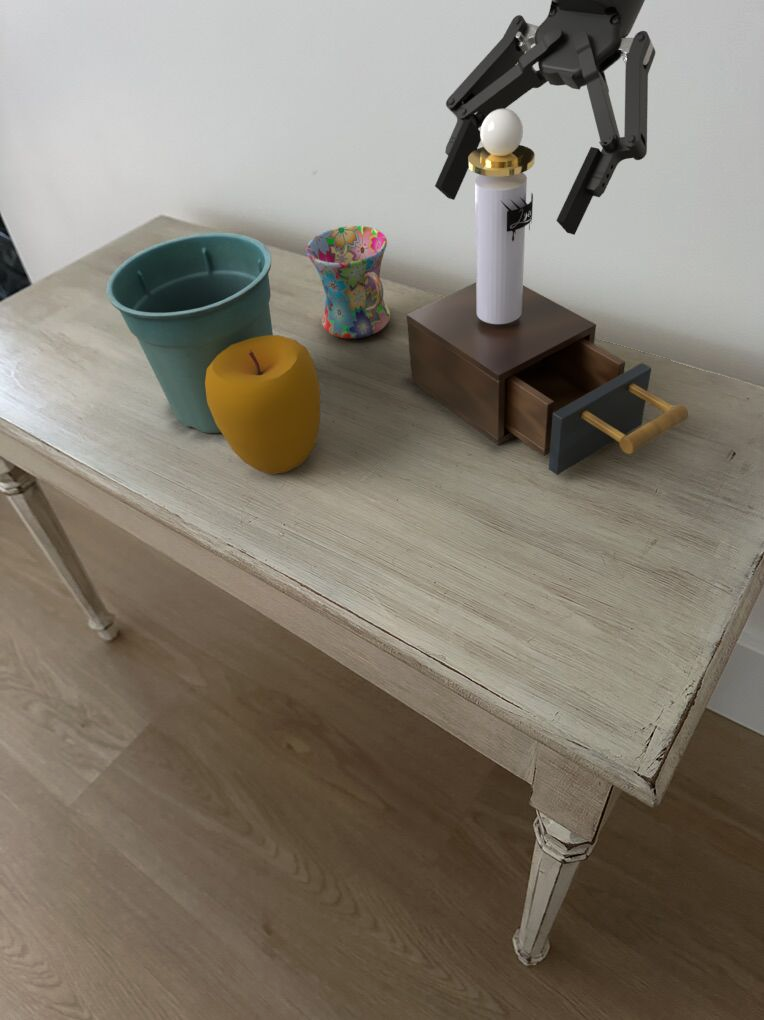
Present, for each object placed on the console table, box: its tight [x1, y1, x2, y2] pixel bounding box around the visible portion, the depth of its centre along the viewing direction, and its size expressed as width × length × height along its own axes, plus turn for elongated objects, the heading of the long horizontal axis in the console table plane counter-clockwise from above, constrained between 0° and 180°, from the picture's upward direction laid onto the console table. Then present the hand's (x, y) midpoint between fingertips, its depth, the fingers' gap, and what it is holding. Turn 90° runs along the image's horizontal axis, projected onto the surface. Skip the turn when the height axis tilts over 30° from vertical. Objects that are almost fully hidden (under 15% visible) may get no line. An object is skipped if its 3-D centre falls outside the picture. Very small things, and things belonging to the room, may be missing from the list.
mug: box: [306, 225, 391, 340], centre depth 93 cm, size 12×9×11 cm
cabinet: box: [406, 282, 597, 446], centre depth 83 cm, size 15×13×9 cm
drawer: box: [504, 338, 690, 476], centre depth 76 cm, size 20×11×7 cm, turn 35°
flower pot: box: [105, 232, 274, 434], centre depth 84 cm, size 16×16×16 cm
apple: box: [205, 334, 321, 475], centre depth 77 cm, size 11×11×13 cm
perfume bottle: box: [468, 108, 536, 324], centre depth 73 cm, size 6×6×20 cm
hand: (501, 210), depth 72 cm, fingers open, 13 cm apart
